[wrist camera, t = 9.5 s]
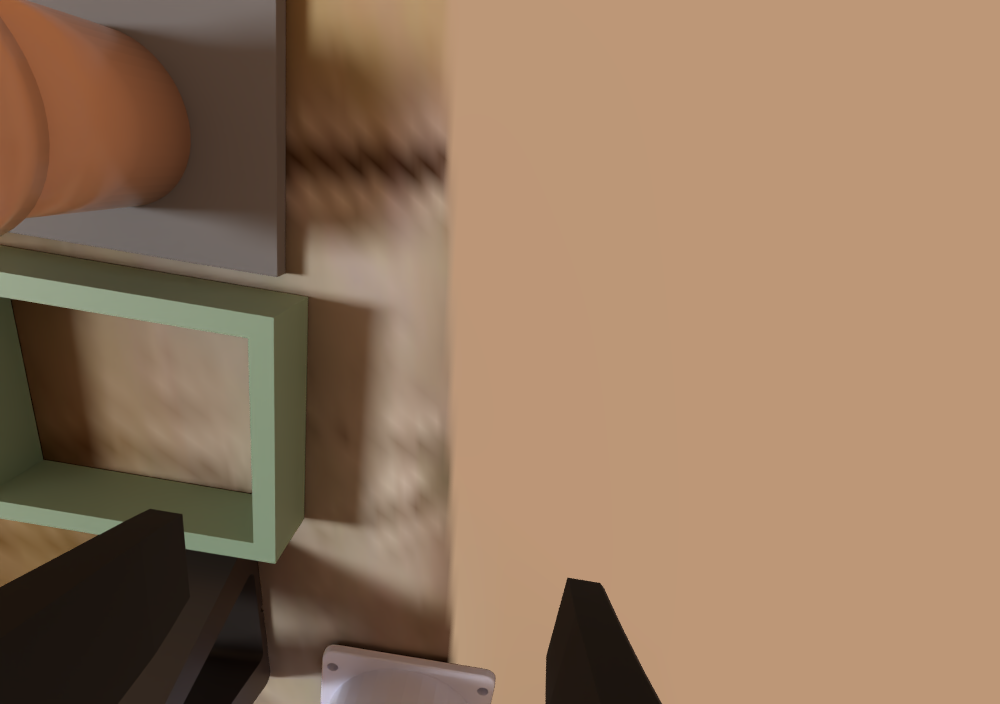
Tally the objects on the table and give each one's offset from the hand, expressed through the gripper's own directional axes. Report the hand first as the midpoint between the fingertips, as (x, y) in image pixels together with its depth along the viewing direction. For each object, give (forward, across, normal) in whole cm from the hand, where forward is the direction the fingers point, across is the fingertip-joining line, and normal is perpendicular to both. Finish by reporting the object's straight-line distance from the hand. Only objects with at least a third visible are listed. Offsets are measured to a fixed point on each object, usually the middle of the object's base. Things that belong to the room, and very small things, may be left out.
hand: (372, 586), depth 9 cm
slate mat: (+9, +11, -8) cm, 16 cm away
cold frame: (+9, +11, +2) cm, 15 cm away
